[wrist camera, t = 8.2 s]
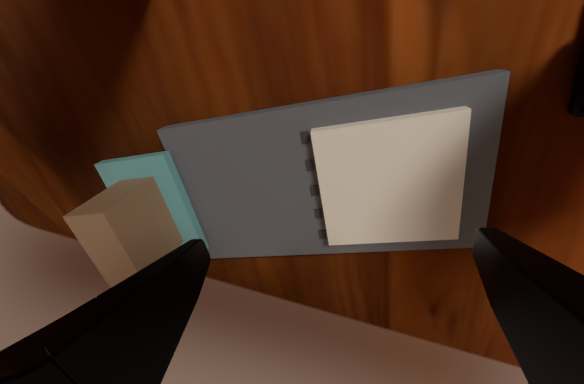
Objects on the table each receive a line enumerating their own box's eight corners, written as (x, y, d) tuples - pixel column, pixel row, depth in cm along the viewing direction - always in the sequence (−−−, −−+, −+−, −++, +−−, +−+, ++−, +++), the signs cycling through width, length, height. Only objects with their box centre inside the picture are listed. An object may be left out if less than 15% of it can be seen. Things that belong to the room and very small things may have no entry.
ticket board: (499, 69, 16) (518, 72, 14) (476, 237, 21) (487, 254, 19) (165, 125, 21) (149, 133, 19) (215, 249, 26) (207, 264, 24)
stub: (169, 150, 20) (111, 188, 15) (209, 247, 24) (174, 302, 19) (101, 160, 21) (28, 197, 16) (150, 250, 26) (103, 302, 21)
